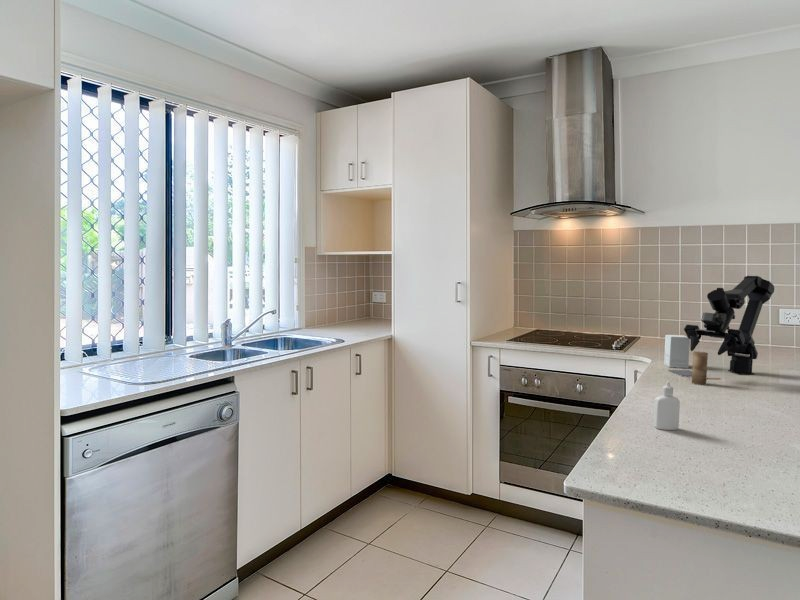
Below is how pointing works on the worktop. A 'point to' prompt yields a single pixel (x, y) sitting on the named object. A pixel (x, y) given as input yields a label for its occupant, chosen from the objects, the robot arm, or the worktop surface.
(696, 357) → the pin
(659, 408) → the eye dropper bottle
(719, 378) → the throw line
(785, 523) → the worktop surface
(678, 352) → the supplement box
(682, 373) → the mat
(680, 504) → the worktop surface
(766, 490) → the worktop surface
